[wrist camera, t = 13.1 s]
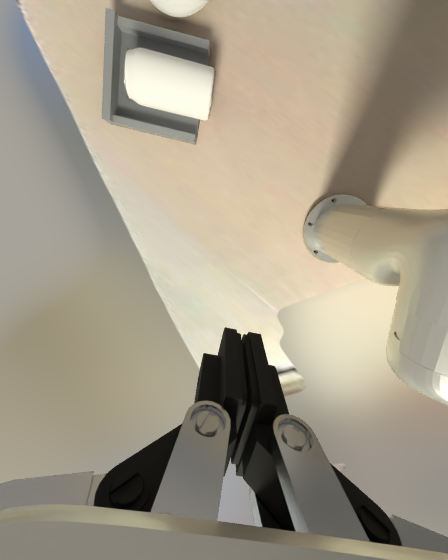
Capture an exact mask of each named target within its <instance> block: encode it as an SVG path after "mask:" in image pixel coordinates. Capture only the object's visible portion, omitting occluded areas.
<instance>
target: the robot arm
mask: <svg viewBox="0 0 448 560" xmlns="http://www.w3.org/2000/svg"><path fill="white" fill-rule="evenodd" d="M332 199H333V202H331V201H332ZM309 222H310V225H308V223H309ZM303 238H304V243H305V245H306V247H307V249H308V250H309V252H310V253H311V254H312V255H313V256H314V257H316V258H317V259H319V260H321V261H324V262H328V263H338V262H340V263H342V264H344V265H345V266H347V267H349V268H350V269H352V270H354V271H355V272H357V273H359V274H360V275H362V276H364V277H365V278H367V279H369V280H371V281H373V282H375V283H378V284H381V285H387V286H399V289H398V293H397V298H396V300H397V301H396V305H395V310H394V314H393V318H392V323H391V327H390V332H389V337H388V342H387V350H386V353H387V360H388V363H389V365H390V367H391V369H392V370H393V372H394V373H395V374H396V375H397V376H398V377H399V378H400V379H401V380H402V381H403V382H405V383H406V384H407V385H409V386H410V387H412V388H413V389H415V390H417V391H418V392H420V393H422V394H424V395H426V396H428V397H430V398H432V399H434V400H436V401H438V402H441V403H443V404H445V405H448V209H440V210H418V209H404V208H389V207H377V206H368V205H367V204H366V203H365V202H364V201H363V200H361V199H360V198H358V197H355V196H353V195H346V194H339V195H333V196H330V197H328V198H326V199H324V200H322V201H321V202H319V203H318V204H317V205H316V206H315V207H314V208H313V209H312V210H311V211H310V213H309V215H308V216H307V218H306V221H305V224H304V229H303ZM314 250H316V251H315V252H314ZM230 458H231V463H232V464H236V475H237V476H243V479H244V480H245V481H246V482H247V484H248V485H249V499H250V503H251V509H252V514H253V519H254V524H255V526H250V525H243V524H235V523H228V522H220V521H217V518H218V511H219V504H220V497H221V490H222V483H223V477H224V476H225V473H226V470H227V467H228V464H229V461H230ZM93 473H94V472H93V471H91V472H82V473H73V474H63V475H54V476H45V477H35V478H26V479H17V480H12V481H9V482H4V483H1V484H0V560H448V537H446V536H444V535H441V534H439V533H436V532H434V531H431V530H429V529H426V528H424V527H422V526H419V525H417V524H414V523H412V522H409V521H407V520H405V519H402V518H400V517H397V516H394V515H391V516H390V518H389V517H388V516H387V515H386V513H385V512H383V510H381V508H380V507H379V506H378V505H377V504H376V503H374V502H373V501H372V500H371V499H370V498H368V496H367V495H365V494H364V493H363V492H362V491H361V490H360V489H359V488H358V487H356V486H355V485H354V484H353V483H352V482H351V481H350V480H349V479H347V478H346V477H345V476H344V475H343V474H342V473H341V472H340V471H338V470H337V469H336V468H335V467H334V466H333V465H332V464H331V463H330V462H329V460H328V459H327V457H326V455H325V453H324V451H323V449H322V447H321V445H320V443H319V441H318V439H317V437H316V435H315V433H314V432H313V430H312V429H311V427H310V426H309V425H308V424H307V423H306V422H304V421H303V420H301V419H300V418H298V417H296V416H293V415H289V412H288V409H287V405H286V402H285V398H284V395H283V391H282V388H281V384H280V381H279V377H278V374H277V370H276V368H275V366H272V365H268V361H267V357H266V353H265V349H264V345H263V341H262V337H261V334H256V333H251V332H248V334H247V335H245V334H244V335H243V337H242V341H241V334H240V333H237V330H235V329H230V328H224V332H223V336H222V340H221V344H220V348H219V352H218V356H217V355H211V354H206V353H204V354H203V358H202V363H201V367H200V372H199V377H198V383H197V389H196V396H195V402H194V404H193V405H192V406H191V407H190V408H189V409H188V411H187V413H186V415H185V418H184V421H183V423H182V424H181V425H179V426H178V427H176V428H175V429H173V430H172V431H170V432H169V433H167V434H165V435H164V436H162V437H161V438H159V439H158V440H156V441H154V442H153V443H151V444H150V445H148V446H147V447H145V448H143V449H142V450H140V451H139V452H138V453H136V454H134V455H133V456H131V457H130V458H128V459H126V460H125V461H123V462H122V463H120V464H119V465H117V466H115V467H114V468H113V469H112V470H110V471H109V472H108V473H107V474H100V475H93Z"/></svg>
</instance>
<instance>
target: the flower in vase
mask: <svg viewBox="0 0 448 560" xmlns="http://www.w3.org/2000/svg"><path fill="white" fill-rule="evenodd" d="M150 1H151V3H152V4H153V5H154V6H155V7H156V8H157V9H159V10H160V11H162V12H163V13H165V14H167V15H170V16H174V17H186V16H190V15H193V14H195V13H196V12H198V11H199V10H201V9H202V8H203V7H204V6H205V5H206V4H207V2H208V1H209V0H150Z"/></svg>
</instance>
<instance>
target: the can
mask: <svg viewBox="0 0 448 560" xmlns="http://www.w3.org/2000/svg"><path fill="white" fill-rule="evenodd" d="M215 73H216V71H214V68H213V67H210V66H206V65H203V64H199V63H196V62H192V61H189V60H185V59H181V58H178V57H174V56H171V55H167V54H163V53H160V52H156V51H152V50H148V49H145V48H140V47H139V48H135V49H132V50H130V49H129V48H127V49H126V50H125V54H124V60H123V78H124V87H125V92H126V95H127V97H128V99H133V100H134V101H135V102H136V103H138V104H139V105H142V106H146V107H150V108H154V109H158V110H162V111H166V112H170V113H175V114H179V115H183V116H187V117H192V118H196V119H200V120H205V121H206V120H207V119H209V116H210V110H211V103H212V95H213V88H214V81H215Z"/></svg>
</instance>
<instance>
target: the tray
mask: <svg viewBox="0 0 448 560" xmlns="http://www.w3.org/2000/svg"><path fill="white" fill-rule="evenodd" d="M139 47H140V48H145V49H148V50H152V51H156V52H160V53H163V54H167V55H171V56H174V57H178V58H181V59H185V60H189V61H192V62H196V63H199V64H203V65H206V66H208V64H209V57H210V51H211V50H210V40H206V39H202V38H199V37H195V36H191V35H188V34H184V33H180V32H176V31H173V30H169V29H165V28H162V27H158V26H154V25H151V24H147V23H143V22H139V21H136V20H132V19H128V18H125V17H121V16H118V15H117V13H116V12H115V10H111V9H107V8H106V17H105V45H104V73H103V102H102V119H104V120H106V121H107V122H109V123H110V124H112V125H116V126H121V127H125V128H129V129H133V130H137V131H141V132H146V133H150V134H154V135H158V136H162V137H166V138H171V139H175V140H179V141H183V142H187V143H191V144H196V141H197V135H198V128H199V122H200V119H196V118H192V117H187V116H183V115H179V114H175V113H170V112H166V111H162V110H158V109H154V108H150V107H146V106H142V105H139V104H138V103H136V102H135V101H134V100H133V99H128V97H127V95H126V92H125V87H124V78H123V60H124V54H125V50H126V49H127V48H129V49H130V50H132V49H135V48H139Z"/></svg>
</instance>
